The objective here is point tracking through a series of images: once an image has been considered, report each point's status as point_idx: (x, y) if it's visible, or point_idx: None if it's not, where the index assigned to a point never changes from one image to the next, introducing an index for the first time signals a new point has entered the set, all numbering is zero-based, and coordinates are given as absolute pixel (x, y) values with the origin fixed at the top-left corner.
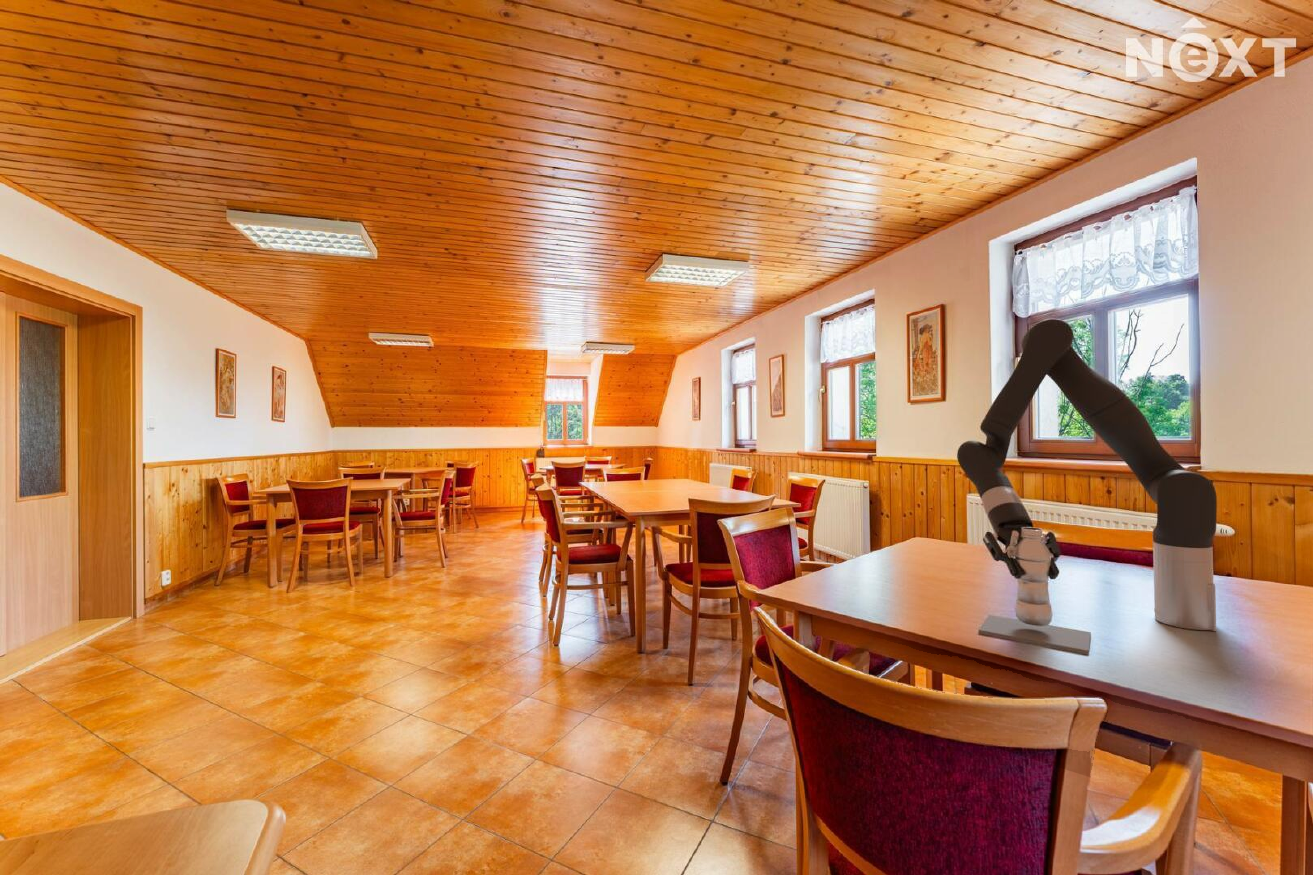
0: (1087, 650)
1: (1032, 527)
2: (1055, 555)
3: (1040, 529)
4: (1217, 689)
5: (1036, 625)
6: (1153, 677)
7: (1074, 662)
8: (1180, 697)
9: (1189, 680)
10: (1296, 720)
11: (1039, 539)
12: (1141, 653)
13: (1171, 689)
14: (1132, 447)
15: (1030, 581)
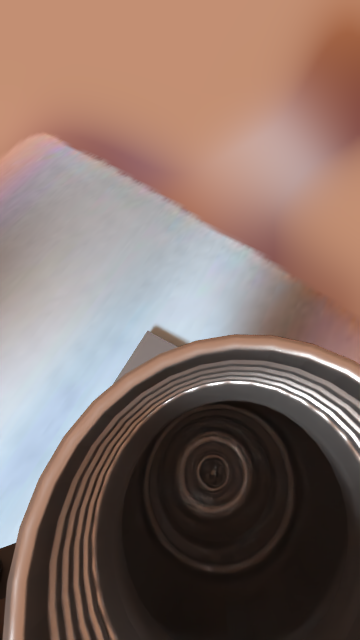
0: (148, 331)
1: None
2: (2, 559)
3: (34, 568)
4: (30, 217)
5: (222, 427)
6: (97, 244)
7: (203, 288)
8: (112, 182)
9: (45, 242)
10: (17, 149)
11: (171, 412)
12: (24, 362)
13: (104, 205)
14: None
15: (252, 416)
